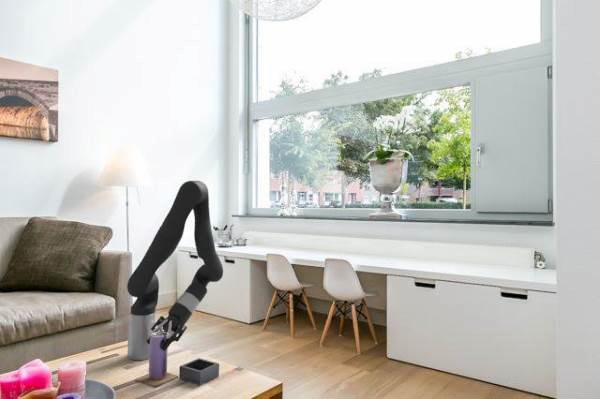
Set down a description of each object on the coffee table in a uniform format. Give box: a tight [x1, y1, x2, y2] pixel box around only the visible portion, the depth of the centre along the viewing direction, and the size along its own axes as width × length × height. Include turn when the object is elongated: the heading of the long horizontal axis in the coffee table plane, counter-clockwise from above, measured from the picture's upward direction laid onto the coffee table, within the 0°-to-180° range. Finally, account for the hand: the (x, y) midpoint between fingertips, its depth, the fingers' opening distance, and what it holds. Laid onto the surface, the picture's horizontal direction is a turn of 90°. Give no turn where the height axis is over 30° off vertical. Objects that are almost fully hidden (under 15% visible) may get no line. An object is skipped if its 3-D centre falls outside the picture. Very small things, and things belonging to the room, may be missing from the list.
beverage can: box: [148, 331, 169, 380], centre depth 151 cm, size 6×6×15 cm
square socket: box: [178, 357, 220, 386], centre depth 153 cm, size 10×10×4 cm
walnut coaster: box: [135, 372, 179, 388], centre depth 151 cm, size 10×10×1 cm
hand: (155, 346), depth 150 cm, fingers open, 8 cm apart
